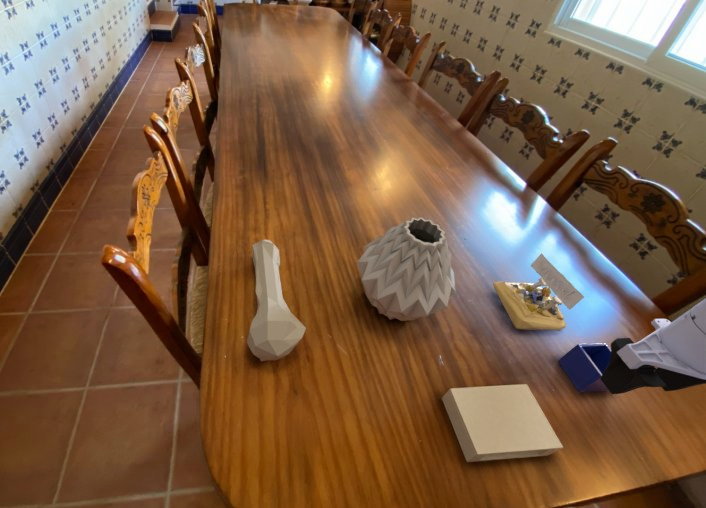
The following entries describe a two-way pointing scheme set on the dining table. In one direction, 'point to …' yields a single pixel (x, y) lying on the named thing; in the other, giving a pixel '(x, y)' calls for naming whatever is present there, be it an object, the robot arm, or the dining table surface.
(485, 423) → the beige flat block
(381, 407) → the dining table surface
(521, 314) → the cake
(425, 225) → the vase
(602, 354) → the box
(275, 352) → the faceted club
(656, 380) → the robot arm
